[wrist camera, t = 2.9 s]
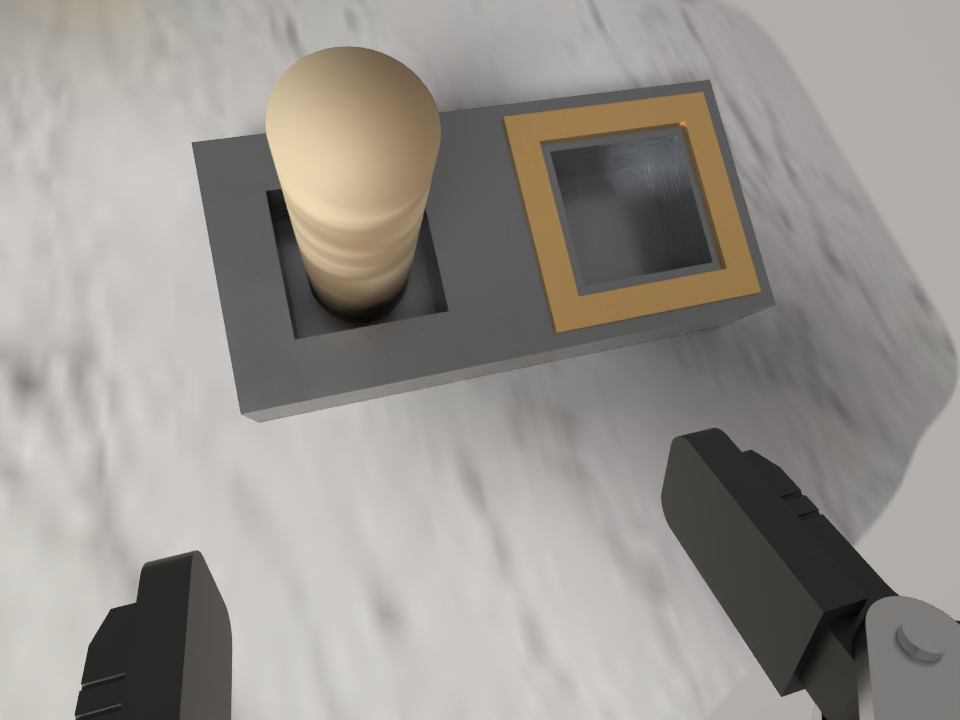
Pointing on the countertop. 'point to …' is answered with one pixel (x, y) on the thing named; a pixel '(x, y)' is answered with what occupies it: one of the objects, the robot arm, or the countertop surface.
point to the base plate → (498, 250)
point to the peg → (354, 173)
